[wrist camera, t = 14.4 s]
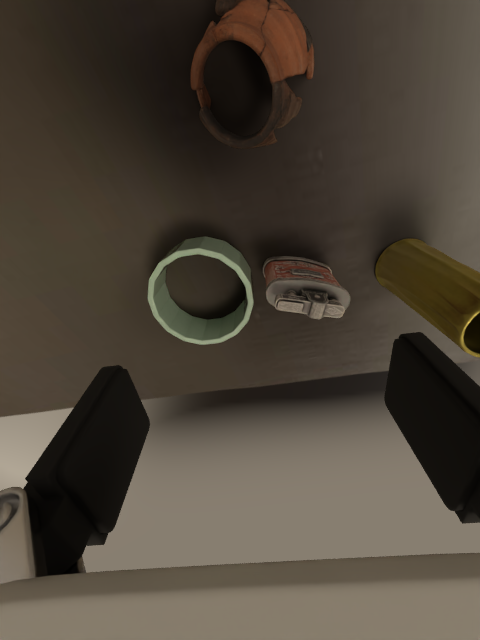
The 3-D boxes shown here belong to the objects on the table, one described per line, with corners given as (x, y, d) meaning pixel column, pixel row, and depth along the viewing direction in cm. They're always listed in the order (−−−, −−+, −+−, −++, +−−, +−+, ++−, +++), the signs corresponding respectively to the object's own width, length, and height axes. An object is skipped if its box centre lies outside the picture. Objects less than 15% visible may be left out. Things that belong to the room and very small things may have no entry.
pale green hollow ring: (175, 327, 37) (165, 349, 32) (148, 245, 31) (132, 258, 27) (257, 317, 36) (258, 338, 31) (245, 230, 30) (244, 240, 26)
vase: (415, 292, 33) (515, 367, 21) (366, 285, 33) (437, 358, 21) (440, 241, 30) (573, 295, 18) (386, 234, 30) (483, 283, 18)
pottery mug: (329, 108, 25) (308, 143, 20) (240, 138, 30) (207, 171, 25) (303, -118, 17) (259, -143, 12) (187, -28, 22) (126, -22, 17)
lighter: (333, 262, 32) (365, 298, 23) (325, 288, 33) (352, 332, 25) (265, 252, 31) (271, 286, 23) (260, 279, 33) (264, 321, 24)
